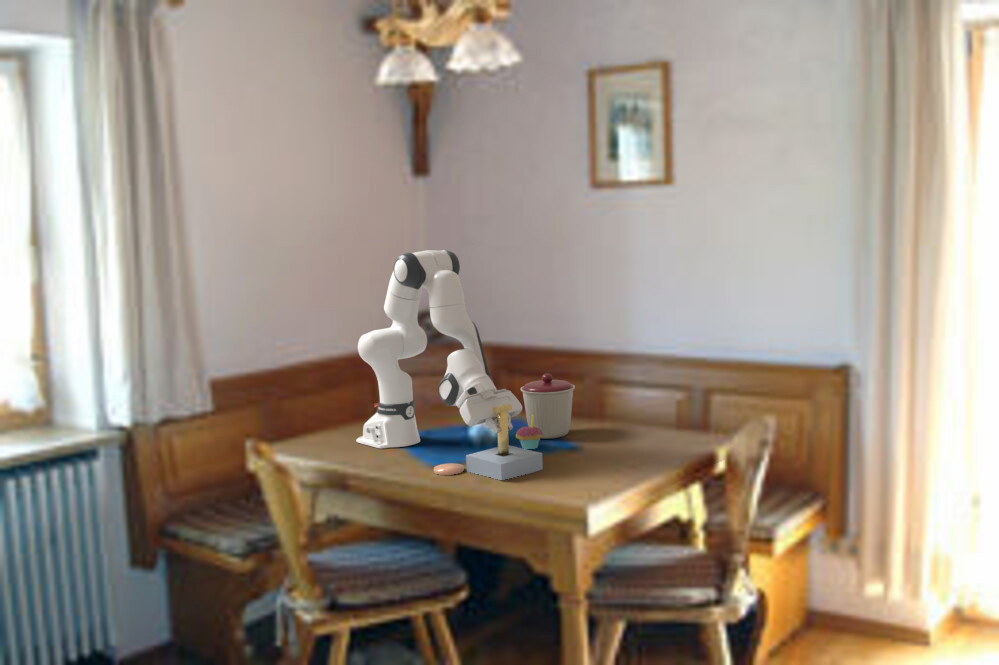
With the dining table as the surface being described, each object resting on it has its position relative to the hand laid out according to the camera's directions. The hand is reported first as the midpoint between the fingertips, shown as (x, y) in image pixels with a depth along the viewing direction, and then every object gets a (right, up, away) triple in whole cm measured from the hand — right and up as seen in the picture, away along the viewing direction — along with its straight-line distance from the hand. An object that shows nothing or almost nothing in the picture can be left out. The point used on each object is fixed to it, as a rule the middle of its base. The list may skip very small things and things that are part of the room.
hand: (504, 430), depth 305 cm
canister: (+15, -6, +43) cm, 46 cm away
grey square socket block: (0, -12, +2) cm, 12 cm away
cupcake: (+8, -8, +27) cm, 30 cm away
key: (0, -9, +2) cm, 9 cm away
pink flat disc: (-17, -13, +5) cm, 21 cm away
